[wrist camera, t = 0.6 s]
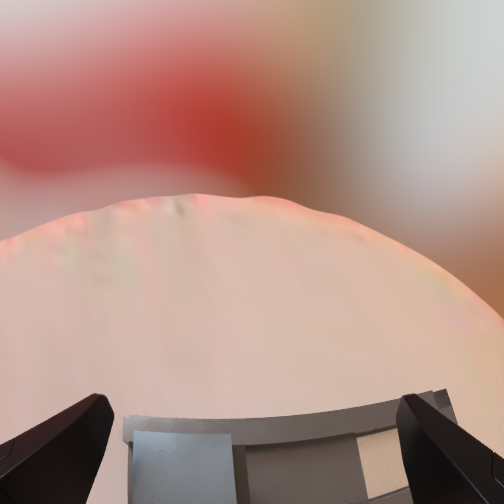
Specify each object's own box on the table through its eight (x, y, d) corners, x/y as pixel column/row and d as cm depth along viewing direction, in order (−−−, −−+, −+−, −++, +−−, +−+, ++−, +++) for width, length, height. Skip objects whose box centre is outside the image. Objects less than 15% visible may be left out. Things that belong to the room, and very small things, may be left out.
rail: (448, 493, 15) (534, 460, 9) (134, 547, 12) (88, 570, 5) (422, 397, 23) (491, 339, 16) (134, 420, 19) (97, 363, 12)
